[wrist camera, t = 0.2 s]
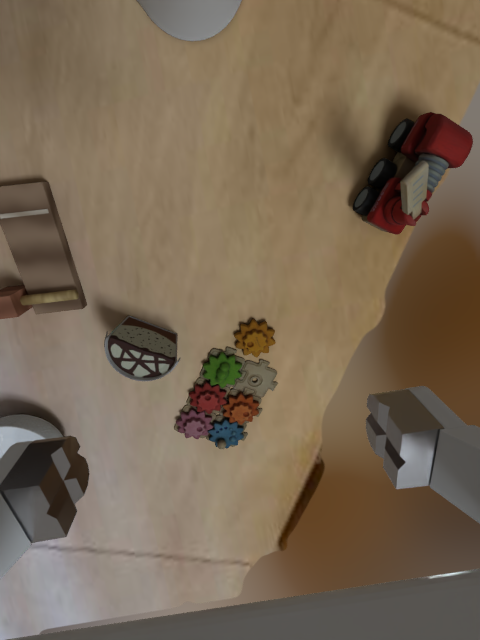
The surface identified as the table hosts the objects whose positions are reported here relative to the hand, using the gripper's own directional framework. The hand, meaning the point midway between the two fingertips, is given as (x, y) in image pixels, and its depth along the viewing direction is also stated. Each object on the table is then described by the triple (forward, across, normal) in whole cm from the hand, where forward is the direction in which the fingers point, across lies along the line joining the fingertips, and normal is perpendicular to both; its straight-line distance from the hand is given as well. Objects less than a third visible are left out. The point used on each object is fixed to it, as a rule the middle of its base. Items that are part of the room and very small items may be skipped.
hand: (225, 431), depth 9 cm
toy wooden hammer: (+48, +31, +8) cm, 57 cm away
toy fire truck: (+48, -28, -4) cm, 56 cm away
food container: (+48, +16, +19) cm, 54 cm away
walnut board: (+48, +29, +1) cm, 56 cm away
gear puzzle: (+48, +1, +32) cm, 58 cm away
